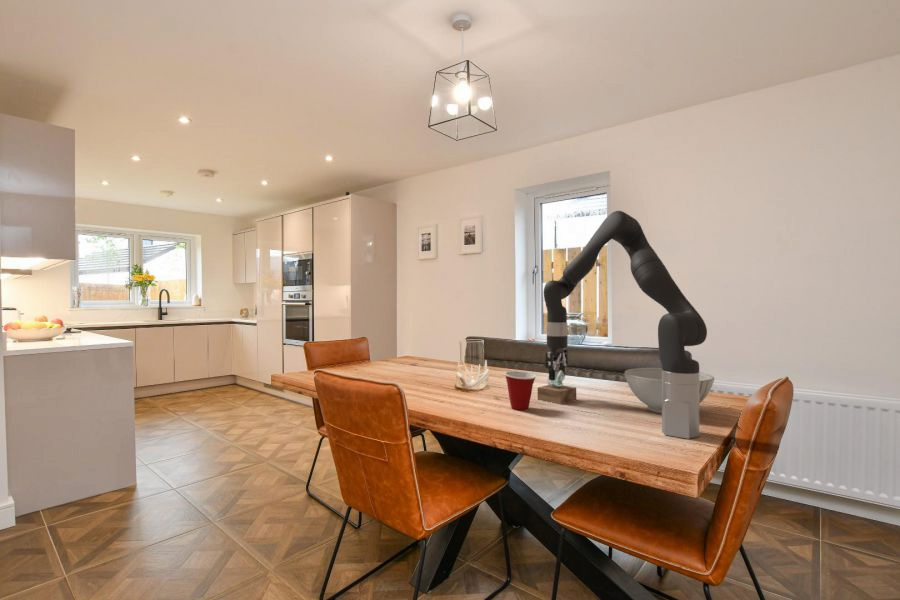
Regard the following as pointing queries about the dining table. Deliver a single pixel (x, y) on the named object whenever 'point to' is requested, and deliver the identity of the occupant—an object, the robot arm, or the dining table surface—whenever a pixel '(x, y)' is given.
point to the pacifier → (557, 379)
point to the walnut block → (557, 394)
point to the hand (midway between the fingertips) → (557, 378)
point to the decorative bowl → (659, 386)
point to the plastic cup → (519, 388)
